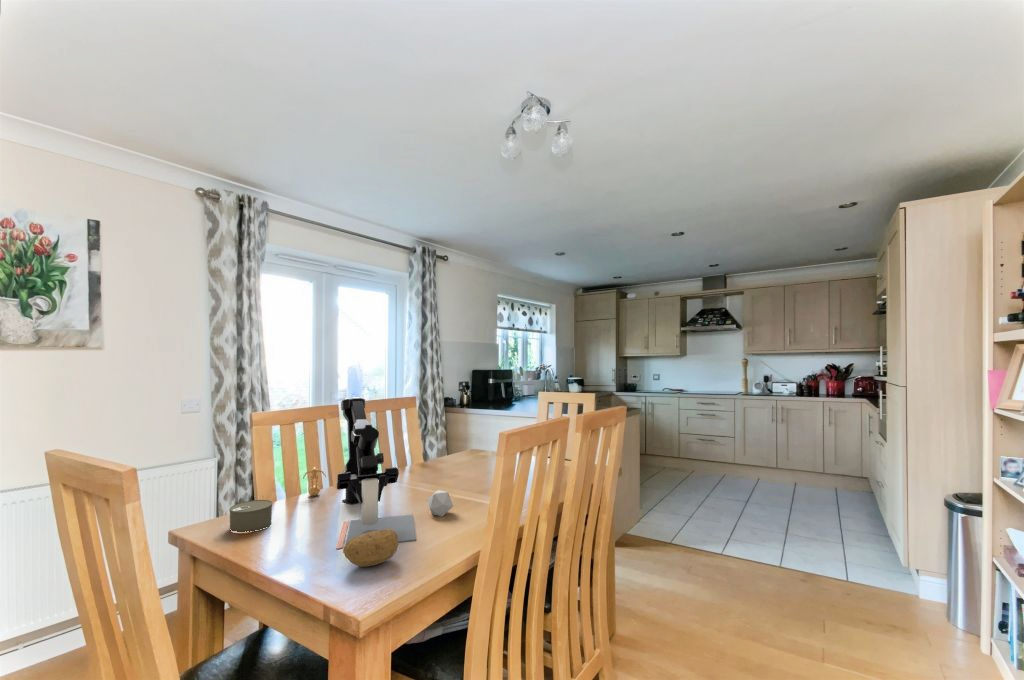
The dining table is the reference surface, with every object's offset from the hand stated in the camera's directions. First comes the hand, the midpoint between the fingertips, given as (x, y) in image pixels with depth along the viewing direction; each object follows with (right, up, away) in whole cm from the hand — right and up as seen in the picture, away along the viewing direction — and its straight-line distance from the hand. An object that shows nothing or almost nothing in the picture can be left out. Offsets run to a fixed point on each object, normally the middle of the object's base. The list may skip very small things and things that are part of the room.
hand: (370, 502), depth 138 cm
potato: (+7, -9, -22) cm, 24 cm away
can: (-40, -10, +5) cm, 42 cm away
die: (+19, -10, +16) cm, 27 cm away
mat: (+3, -9, +2) cm, 10 cm away
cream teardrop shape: (-1, -7, +1) cm, 7 cm away
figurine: (-34, -11, +37) cm, 52 cm away
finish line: (-8, -9, -1) cm, 12 cm away
